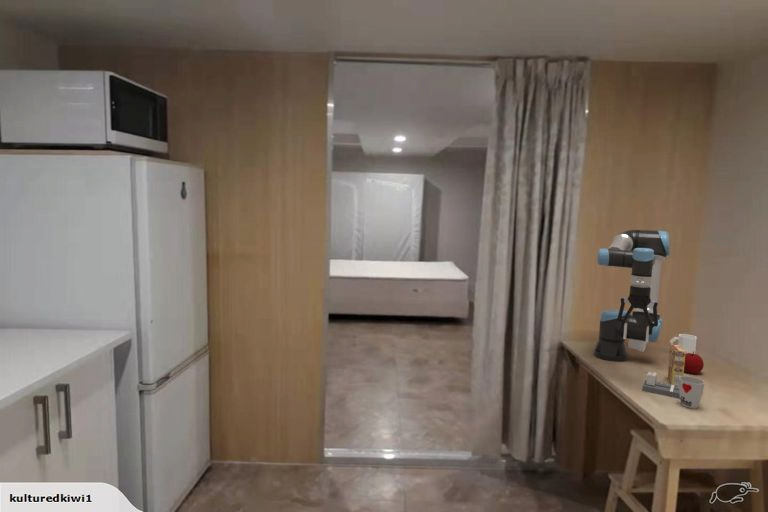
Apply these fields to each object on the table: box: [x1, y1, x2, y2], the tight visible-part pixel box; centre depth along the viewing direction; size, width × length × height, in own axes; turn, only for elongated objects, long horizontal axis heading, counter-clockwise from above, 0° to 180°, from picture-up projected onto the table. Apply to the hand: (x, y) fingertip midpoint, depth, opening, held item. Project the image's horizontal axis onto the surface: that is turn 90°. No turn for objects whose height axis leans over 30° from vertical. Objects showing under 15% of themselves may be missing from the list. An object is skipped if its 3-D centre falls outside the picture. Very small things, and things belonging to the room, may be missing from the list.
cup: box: [679, 375, 705, 409], centre depth 184 cm, size 8×8×10 cm
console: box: [641, 379, 680, 399], centre depth 197 cm, size 18×9×4 cm, turn 56°
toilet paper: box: [627, 339, 647, 353], centre depth 258 cm, size 8×11×7 cm
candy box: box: [667, 344, 686, 386], centre depth 208 cm, size 9×4×15 cm, turn 162°
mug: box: [669, 333, 698, 354], centre depth 249 cm, size 12×9×10 cm
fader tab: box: [646, 371, 658, 386], centre depth 200 cm, size 3×5×4 cm, turn 146°
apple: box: [684, 352, 704, 375], centre depth 222 cm, size 9×9×10 cm
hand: (635, 340), depth 202 cm, fingers open, 8 cm apart
